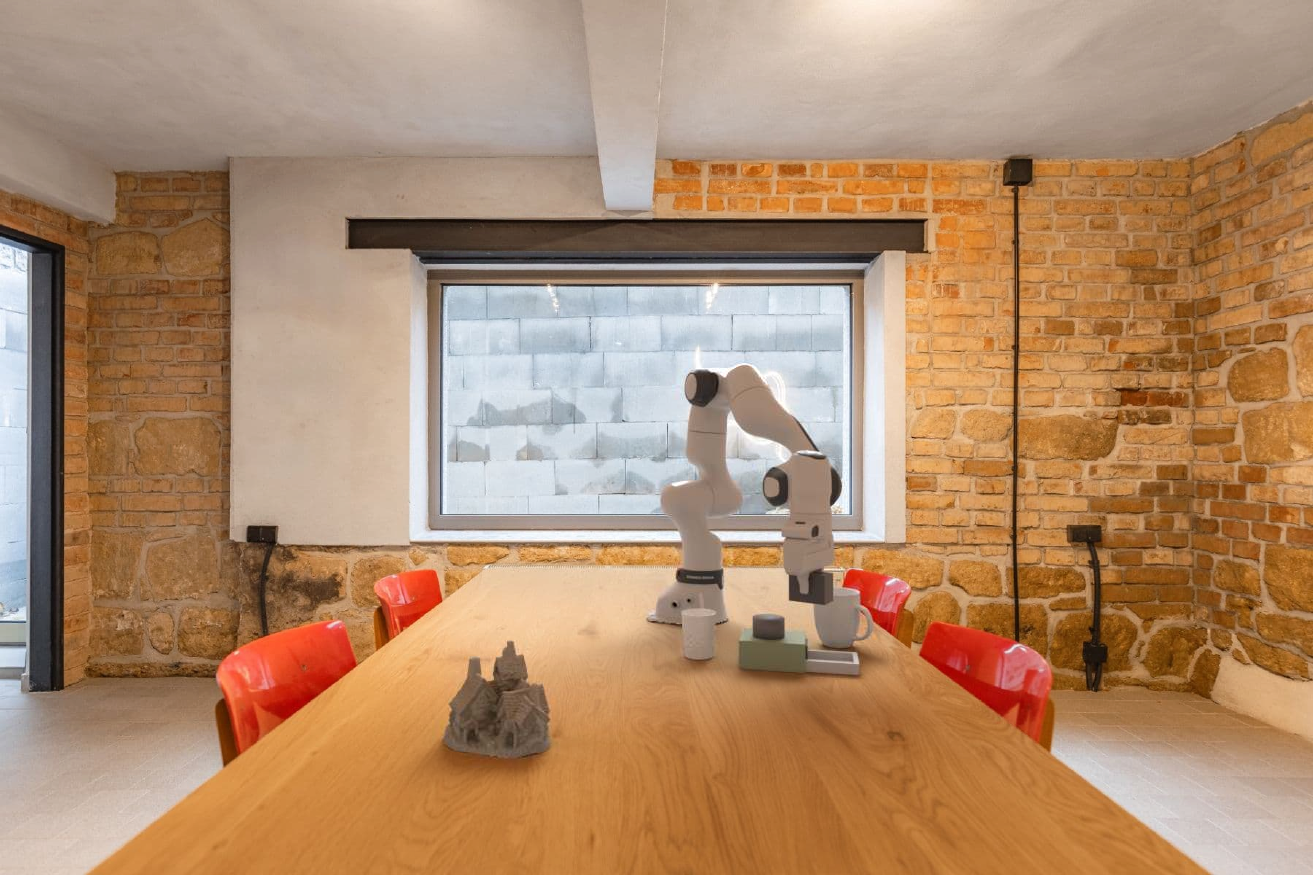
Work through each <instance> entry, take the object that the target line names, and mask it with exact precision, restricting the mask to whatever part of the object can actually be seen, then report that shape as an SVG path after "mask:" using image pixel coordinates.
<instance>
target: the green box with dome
mask: <svg viewBox="0 0 1313 875" xmlns="http://www.w3.org/2000/svg"><path fill="white" fill-rule="evenodd" d="M785 625H786V624H785V617H784V616H783V615H781V614H780V615H779V614H774V613H759V614H755V615H752V628H751V627H750V628H746V627H745V628H744V627H743V629H742V631H741V633H740V634H741V635H740V637H739V639H738V669H740V670H741V669H742V670H754V671H756V670H757V671H769V672H770V671H771V672H781V673H782V672H785V673H786V672H787V673H797V674H798V673H800V674H806V673H819V674H820V673H821V674H834V675H836V674H837V675H848V676H849V675H850V676H860V660H859V656H858V652H856V651H842V650H840V651H837V650H825V649H824V650H823V649H822V650H821V649H808V645H809V644H808V642H809V640H808V638H807V632H806V631H803V630H802V631H801V630H786V628H785Z"/></svg>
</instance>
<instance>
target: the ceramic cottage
mask: <svg viewBox="0 0 1313 875" xmlns="http://www.w3.org/2000/svg"><path fill="white" fill-rule="evenodd" d="M506 645H507V646H506V647H503V649H502V652H501V654H502V655H501V656H497V657H495V661H494V665H493V670H492V671H493V672H492V676H493V679H492V680H487V679H486V678H484V677H483V676H482V665H481V658H480V657H478V656H473V657H470V658H469V660H468V668H467V673H466V679H465V680H464V683H463V684H462V686H461V687H460V689H459V690H458V691H457V693H456V695H455V696H454V697H453V698H452V700H450V702H449V703H448V704H447V705H448V706H449V707H450V708H451V711H450V712H449V714H448V717H449V719H448V722H449V724H447V725H446V727H445V731H444V737H443V738H442V739H443V740H444V741H443V740H442V741H443V744H444V743H445V744H444V745H445V746H446V745H447V746H446V747H448V748H449V749H451V750H453V751H454V752H458V751H459V753H460V752H461V753H466V754H467V753H468V754H472V753H474V754H473V755H479V754H480V755H479V756H486V755H492V756H491V757H493V756H497V757H496V758H500V757H503V758H502V759H510V758H513V759H519V757H520V758H523V757H522V756H525V755H526V756H527V755H528V756H529V755H535V753H537V754H542V753H544V752H543V751H545V750H547V751H548V750H549V748H550V749H551V744H552V742H551V738H550V731H549V730H550V729H549V724H548V723H550V721H551V718H550V717H549V716H550V715H549V714H550V711H551V710H550V708H549V704H548V699H547V696H546V692H545V689H544V685H543V683H541V684H538V683H536V682H533V683H531V685H530V683H529V682H528V681H527V680H528V678H529V674H528V668H527V663H526V660H525V655H524V654H518V655H517V652H516V647H515V642H514V641H513V640H507V641H506ZM541 752H542V753H541ZM545 752H546V751H545ZM499 756H500V757H499ZM505 757H507V758H505ZM508 757H509V758H508Z"/></svg>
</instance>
